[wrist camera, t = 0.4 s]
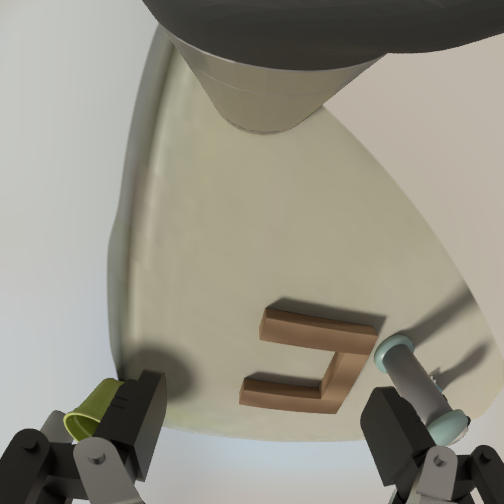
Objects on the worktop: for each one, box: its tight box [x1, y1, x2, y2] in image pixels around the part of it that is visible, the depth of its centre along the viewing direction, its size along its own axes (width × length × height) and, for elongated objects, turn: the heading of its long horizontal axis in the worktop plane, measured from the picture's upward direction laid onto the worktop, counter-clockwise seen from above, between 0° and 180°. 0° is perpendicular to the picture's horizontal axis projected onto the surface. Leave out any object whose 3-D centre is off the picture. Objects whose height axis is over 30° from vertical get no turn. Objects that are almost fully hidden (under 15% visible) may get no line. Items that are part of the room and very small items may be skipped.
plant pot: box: [63, 378, 125, 442], centre depth 28 cm, size 9×9×9 cm
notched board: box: [239, 308, 378, 414], centre depth 29 cm, size 12×12×2 cm
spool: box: [374, 334, 468, 446], centre depth 23 cm, size 5×5×14 cm
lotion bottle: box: [40, 410, 74, 444], centre depth 26 cm, size 6×6×20 cm
